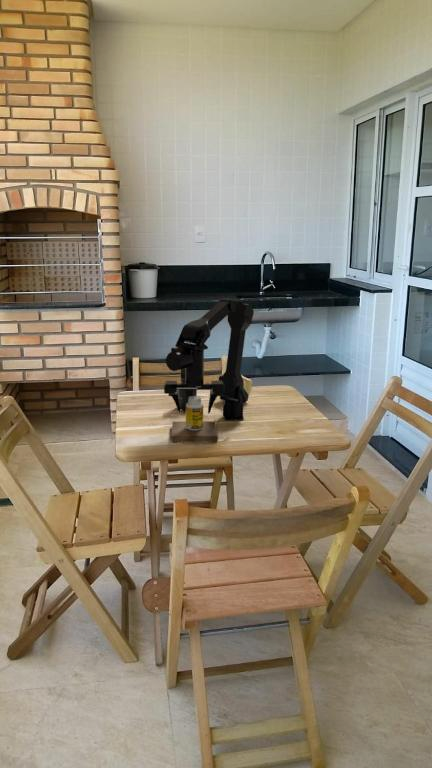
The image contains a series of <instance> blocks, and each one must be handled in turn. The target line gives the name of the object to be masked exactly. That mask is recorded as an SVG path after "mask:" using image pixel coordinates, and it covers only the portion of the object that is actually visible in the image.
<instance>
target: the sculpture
mask: <svg viewBox="0 0 432 768" xmlns="http://www.w3.org/2000/svg"><path fill="white" fill-rule="evenodd" d="M241 376H242V378H243V381H244V389H245V391H246V392H247V393H248V395H249V396H250V394H251V392H252V389H253V386H252V385H253V381H252V380H251V379H250V378H247V377H245V376H243V375H242V374H241ZM249 396H248V398H249ZM222 401H223V403H225V400H222Z"/></svg>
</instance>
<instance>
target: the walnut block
mask: <svg viewBox="0 0 432 768" xmlns="http://www.w3.org/2000/svg"><path fill="white" fill-rule="evenodd" d="M171 425H172V428H171V429H172V430H171V443H218V431H217V430H218V429H217V424H216V420H215V421H213V420H211V421H209V420H208V421H207V420H206V421H204V420H203V428H202V429H201V430H197V431H192V430H188V429H187V428H186V420H185V421H172V424H171Z"/></svg>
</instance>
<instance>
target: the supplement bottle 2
mask: <svg viewBox="0 0 432 768" xmlns="http://www.w3.org/2000/svg"><path fill="white" fill-rule="evenodd" d="M185 421H186V428H187V429H188V430H192V431H197V430H201V429H202V428H203V421H204V404H203V403H202V397H201V396H198V395H197V396H190V397H189V398H188V403H187V404H186V411H185Z"/></svg>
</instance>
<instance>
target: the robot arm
mask: <svg viewBox="0 0 432 768" xmlns="http://www.w3.org/2000/svg"><path fill="white" fill-rule="evenodd" d="M254 312H255V311H254V308H253V307H252V305H251V304H249V303H242V302H239V301H237V300H234V299H232V298H220V299H219V300H218V302H217V303H216V304H215V305H213V307H212V308H210V310H208V311H207V312H206V313H205V314H203V316H202V317H200V318H198V319H195V320H192V321H190V322H188V323H186V324H184V325H183V327H182V329H181V331H180V334H179V335H178V336H179V337H178V339H177V341H176V343H175V347H171V348H170V352H169V353H168V354H167V356H166V358H165V364H166V366H167V368H168V369H169V370H170V371H172V372H178V371H180V380H181V379H185V384H180V383H178V380H165V382H164V385H163V394H168V396H169V397H171V398H172V400H173V402H174V404H175V405H176V408H177V411H178V414H179V415H180V414H181V410H180V402H179V394H178V390H197V391H203V390H204V391H205V390H206V391H209V400H208V407H207V413H208V414H210V413H211V411H212V408H213V405H214V403H215V402H216V399H217V397H219V400H222V401H223V400H225V402H223V403H222V416H223V418H224V420H225V421H243V420H244V404H246V403H247V402H248V400H249V397H248V396H250V394H249V395H248V393H247V392H246V391H245V389H244V381H243V378H242V376H243V375H242V373H241V372H242V371H241V370H242V369H241V368H242V363H243V353H244V345H245V338H246V337H245V336H246V332H247V330H248V329H249V327H250V326H251V324H252V321H253V317H254V315H255V314H254ZM225 318H227V323H228V325H229V327H230V335H229V342H228V343H229V344H228V350H227V359H226V366H225V371H224V372H223V374H222V375H219V377H218V380H211V382H210V383H204V379H205V377H204V373H205V371H204V368H205V367H204V366H205V365H204V363H205V362H204V361H205V360H204V359H205V350H208V349H209V347H208V345H206V344H205V343H206V342H207V340H208V339H209V338H210V336H211V331H212V330H213V329H214V328H215V327H216V326H217V325H219V323H220V322H222V321H223V320H224V319H225ZM241 375H242V376H241Z"/></svg>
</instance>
